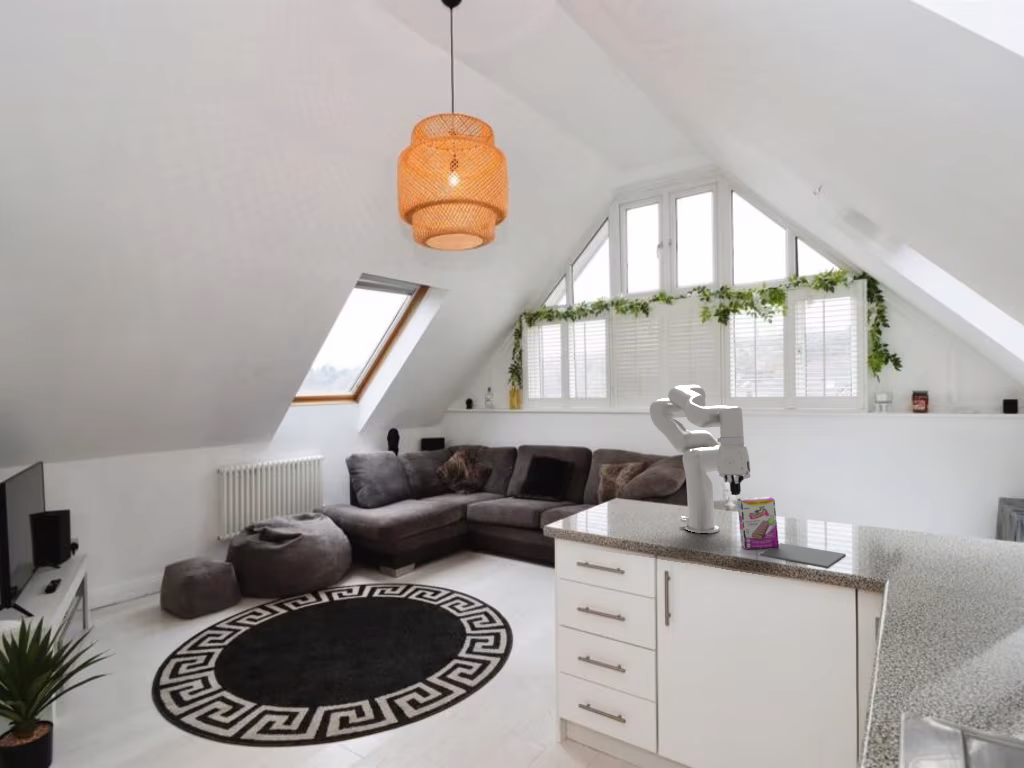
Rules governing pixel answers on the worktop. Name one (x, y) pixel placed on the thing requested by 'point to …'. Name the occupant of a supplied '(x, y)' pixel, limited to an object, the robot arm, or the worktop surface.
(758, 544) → the candy bar box
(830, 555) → the mat
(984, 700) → the worktop surface
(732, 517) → the worktop surface
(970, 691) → the worktop surface
